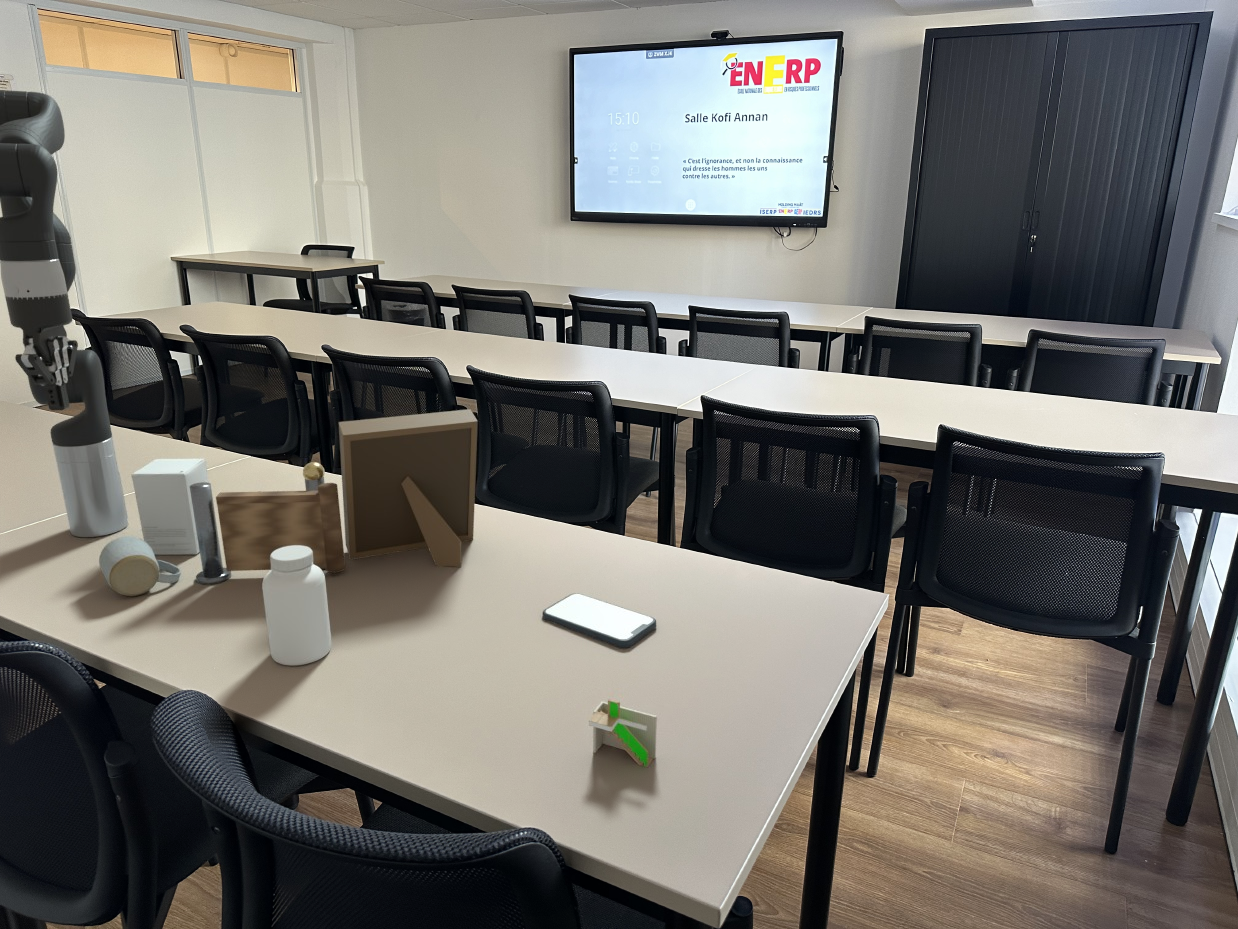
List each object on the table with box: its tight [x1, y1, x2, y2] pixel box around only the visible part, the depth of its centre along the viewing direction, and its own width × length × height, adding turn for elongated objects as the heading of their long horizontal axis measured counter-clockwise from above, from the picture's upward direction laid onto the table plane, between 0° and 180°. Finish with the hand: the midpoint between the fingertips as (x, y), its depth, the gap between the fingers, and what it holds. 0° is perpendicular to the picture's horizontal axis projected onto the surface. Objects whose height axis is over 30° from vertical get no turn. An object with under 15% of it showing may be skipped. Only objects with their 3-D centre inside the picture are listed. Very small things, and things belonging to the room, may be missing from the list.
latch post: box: [302, 461, 326, 570], centre depth 142 cm, size 5×5×18 cm
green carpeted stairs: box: [588, 698, 658, 768], centre depth 95 cm, size 4×7×8 cm, turn 66°
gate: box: [215, 482, 346, 573], centre depth 138 cm, size 18×3×14 cm, turn 95°
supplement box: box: [131, 458, 210, 556], centre depth 149 cm, size 9×9×15 cm
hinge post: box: [190, 482, 232, 585], centre depth 137 cm, size 5×5×16 cm
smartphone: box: [542, 592, 657, 649], centre depth 127 cm, size 9×2×16 cm
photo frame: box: [338, 408, 479, 568], centre depth 144 cm, size 15×22×25 cm
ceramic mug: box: [98, 535, 182, 597], centre depth 135 cm, size 11×8×8 cm
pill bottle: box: [261, 545, 332, 666], centre depth 115 cm, size 8×8×15 cm
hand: (59, 408), depth 127 cm, fingers closed
